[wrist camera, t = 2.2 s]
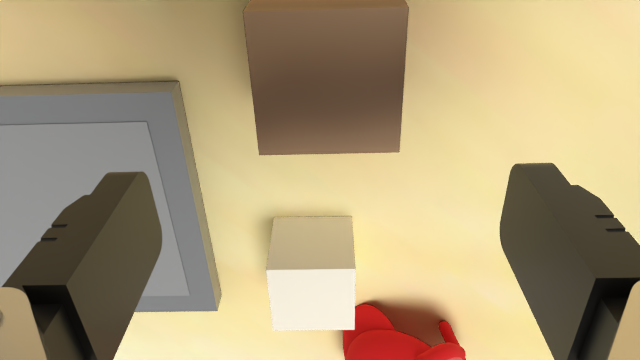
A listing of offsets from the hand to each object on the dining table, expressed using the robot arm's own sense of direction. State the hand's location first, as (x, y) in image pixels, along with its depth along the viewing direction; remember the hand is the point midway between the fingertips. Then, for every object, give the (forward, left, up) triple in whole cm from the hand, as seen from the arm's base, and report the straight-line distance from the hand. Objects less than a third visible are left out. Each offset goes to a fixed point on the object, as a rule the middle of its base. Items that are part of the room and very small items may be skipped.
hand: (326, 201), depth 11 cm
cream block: (+11, -1, -11) cm, 16 cm away
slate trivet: (+8, -13, -11) cm, 19 cm away
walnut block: (0, 0, -11) cm, 11 cm away
